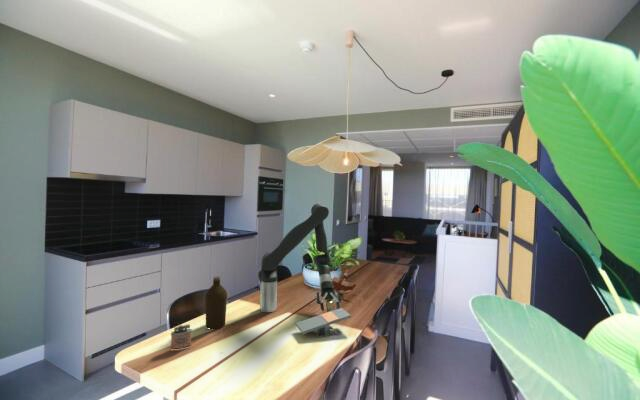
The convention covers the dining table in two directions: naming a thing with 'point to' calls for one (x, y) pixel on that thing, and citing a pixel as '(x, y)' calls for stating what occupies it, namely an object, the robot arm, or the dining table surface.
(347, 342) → the dining table surface
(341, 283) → the decorative bird
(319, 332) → the pivot stand
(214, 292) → the olive oil
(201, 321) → the dining table surface
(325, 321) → the seesaw board
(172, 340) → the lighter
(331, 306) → the ball
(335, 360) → the dining table surface
